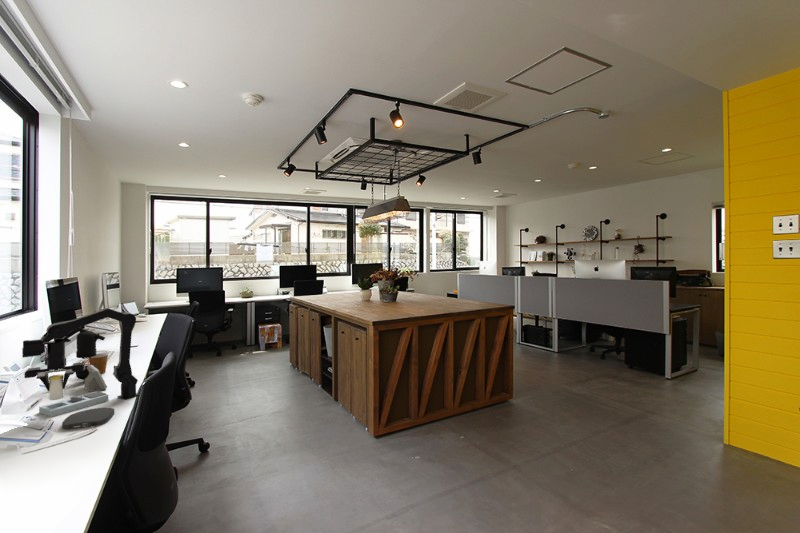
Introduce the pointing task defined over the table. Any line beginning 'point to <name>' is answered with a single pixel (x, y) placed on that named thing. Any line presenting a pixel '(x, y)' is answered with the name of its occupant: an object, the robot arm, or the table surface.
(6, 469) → the table surface
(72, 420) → the media streaming box
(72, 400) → the plunger
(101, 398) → the housing
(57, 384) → the cartridge
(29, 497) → the table surface
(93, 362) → the disposable coffee cup
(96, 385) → the grey triangular stone
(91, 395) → the pad
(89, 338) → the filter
